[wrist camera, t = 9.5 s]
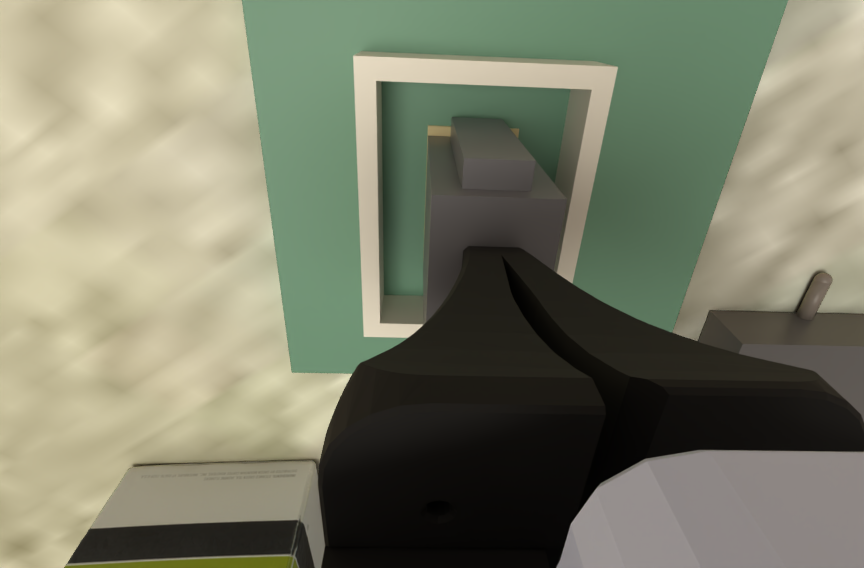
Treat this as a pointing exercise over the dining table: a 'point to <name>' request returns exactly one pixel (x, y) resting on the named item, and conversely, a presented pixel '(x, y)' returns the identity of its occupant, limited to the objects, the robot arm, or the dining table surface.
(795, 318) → the grey flat block
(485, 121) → the plug
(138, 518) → the tea box
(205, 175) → the dining table surface
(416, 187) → the board
